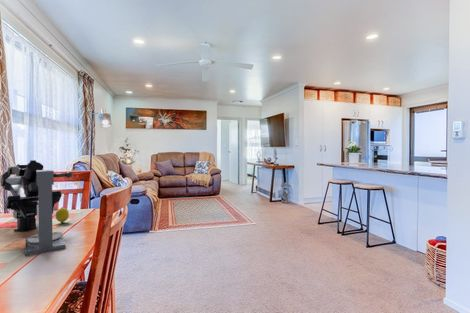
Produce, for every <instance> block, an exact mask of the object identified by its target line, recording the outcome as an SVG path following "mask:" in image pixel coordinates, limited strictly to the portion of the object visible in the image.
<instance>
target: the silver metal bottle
mask: <svg viewBox="0 0 470 313" xmlns="http://www.w3.org/2000/svg"><path fill="white" fill-rule="evenodd" d="M36 226H37V228H36V234H37V238H39V205H37V215H36Z"/></svg>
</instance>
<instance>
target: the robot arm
mask: <svg viewBox="0 0 470 313" xmlns="http://www.w3.org/2000/svg"><path fill="white" fill-rule="evenodd" d="M36 170H44V165H43V164H42V163H40V162H38V161H37V160H36V159H35V160H34V159H33V160H30V161H29V163H17V164H16V165H15V166H8V167H7V170H6V171H5V172H4V173H2V175H1V179H0V187H2V189H3V190H4V191H6V192H7V191H9V192H10V193H11V195H8V196H7V197H6V201H5V208H6V209H7V210H11V211H13V212H12V216H13V218H14V219H16V221H17V222H16V223H17V225H16V227H17V228H15V229H13V231H14V232H25V233H26V232H30V231H32V230H35V229H37V218H36V216H37V205H38V186H37V178H36ZM13 175H16V176H13ZM62 196H63V194H62V191H60V190H54V191H53V190H52V215H53V214H54V210H55V209H54V208H55V205H56V204H57V203H59V202H60V201H61V198H62Z"/></svg>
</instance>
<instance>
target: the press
mask: <svg viewBox="0 0 470 313" xmlns="http://www.w3.org/2000/svg"><path fill="white" fill-rule="evenodd" d="M72 177H73V172H71V171H67V172H65V173H60V172H59V173H55V172H54V169H43V170H36V178H37V186H38V201H37V202H38V205H39V238H37V233H36V234H34V235H31V236H27V237H25V247H24V248H25V249H24V256H25V257H27V256H33V255H37V254H38V255H39V254H42V253H48V252H53V251H59V250H64V249H66V242H65V239H64V236H63V235H64V234H63V232H62V231H60V232H59V231H53V214H52V191H53V185H55V179H54V178H67V179H71V178H72Z"/></svg>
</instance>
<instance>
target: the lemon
mask: <svg viewBox="0 0 470 313" xmlns="http://www.w3.org/2000/svg"><path fill="white" fill-rule="evenodd" d="M69 214H70V213H69V210H68V209H67V208H66V207H62V206H61V207H60V208H59V209H57V210H56V213H55V219H56V221H57V222H59V223H62V224H63V223H64V222H66V221H67V220H68V218H69V217H70V215H69Z"/></svg>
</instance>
